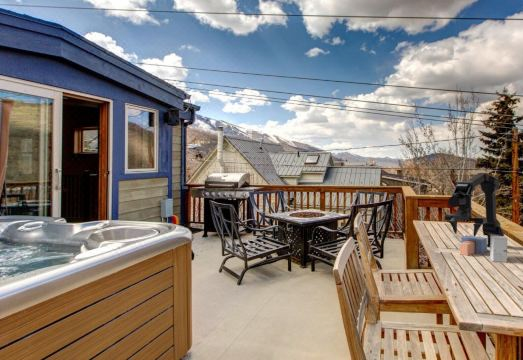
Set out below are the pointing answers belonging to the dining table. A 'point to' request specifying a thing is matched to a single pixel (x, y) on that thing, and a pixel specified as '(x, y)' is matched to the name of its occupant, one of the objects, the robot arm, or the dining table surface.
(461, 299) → the dining table surface
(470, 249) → the salmon pink prism
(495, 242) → the skincare box
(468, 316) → the dining table surface
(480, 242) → the block
